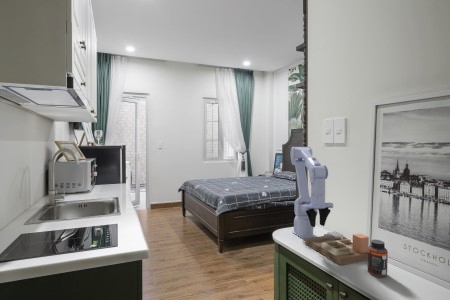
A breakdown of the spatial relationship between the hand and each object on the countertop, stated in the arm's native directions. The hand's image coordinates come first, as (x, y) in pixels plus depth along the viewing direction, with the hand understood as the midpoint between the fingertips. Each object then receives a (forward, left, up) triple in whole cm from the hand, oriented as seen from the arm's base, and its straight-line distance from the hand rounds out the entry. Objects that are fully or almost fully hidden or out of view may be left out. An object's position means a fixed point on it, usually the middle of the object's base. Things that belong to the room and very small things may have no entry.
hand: (317, 225), depth 111 cm
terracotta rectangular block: (+12, +11, -7) cm, 18 cm away
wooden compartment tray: (+4, +7, -10) cm, 13 cm away
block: (0, +9, -7) cm, 12 cm away
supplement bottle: (+24, +6, -10) cm, 27 cm away
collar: (+8, +3, -7) cm, 12 cm away
